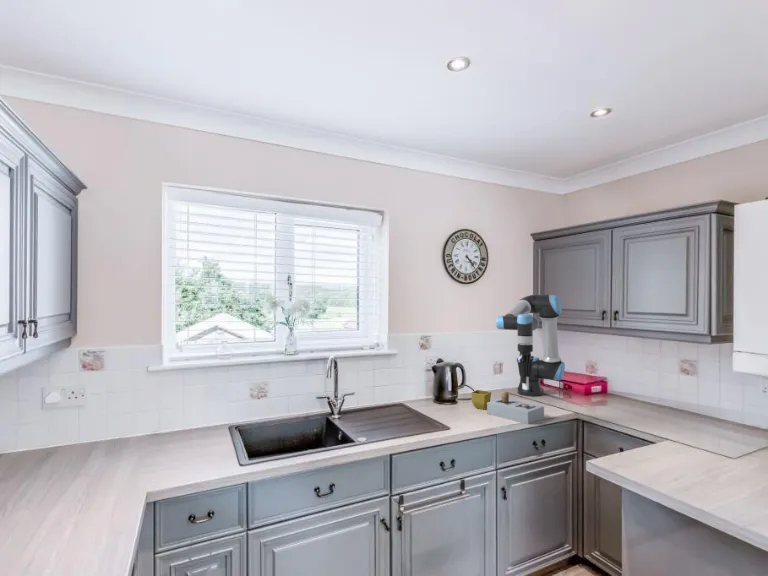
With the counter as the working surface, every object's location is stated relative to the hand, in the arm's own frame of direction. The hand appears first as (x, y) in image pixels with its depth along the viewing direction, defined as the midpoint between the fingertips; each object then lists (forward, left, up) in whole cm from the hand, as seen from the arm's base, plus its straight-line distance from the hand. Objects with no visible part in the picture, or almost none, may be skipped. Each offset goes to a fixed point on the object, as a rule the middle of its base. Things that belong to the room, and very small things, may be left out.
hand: (525, 389), depth 220 cm
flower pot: (+1, -27, -15) cm, 31 cm away
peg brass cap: (0, -12, -10) cm, 15 cm away
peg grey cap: (0, 0, -15) cm, 15 cm away
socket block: (0, -6, -15) cm, 16 cm away
